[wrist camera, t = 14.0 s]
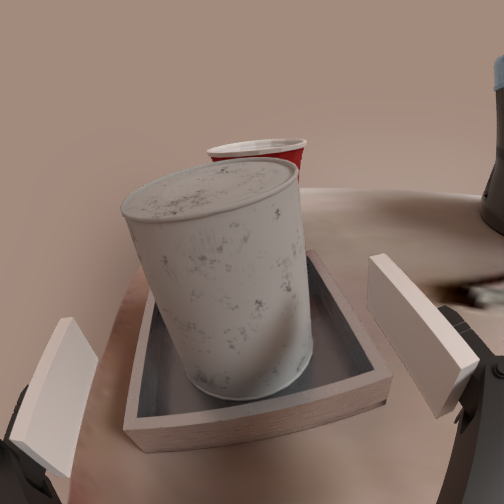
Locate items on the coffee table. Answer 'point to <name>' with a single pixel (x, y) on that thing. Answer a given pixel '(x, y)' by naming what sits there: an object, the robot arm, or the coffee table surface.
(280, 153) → the plastic cup
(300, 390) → the grey square tray
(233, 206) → the speckled white cylinder
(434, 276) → the coffee table surface
